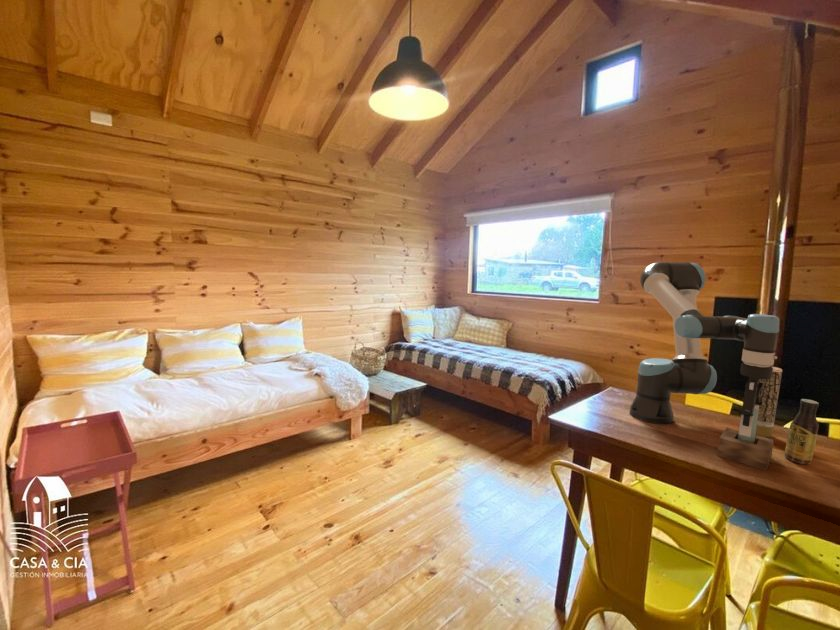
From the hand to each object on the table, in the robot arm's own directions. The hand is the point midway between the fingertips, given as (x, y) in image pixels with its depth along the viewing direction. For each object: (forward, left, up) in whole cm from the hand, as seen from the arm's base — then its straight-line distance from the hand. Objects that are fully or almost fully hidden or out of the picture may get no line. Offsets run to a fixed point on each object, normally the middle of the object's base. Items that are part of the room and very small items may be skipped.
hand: (747, 429), depth 123 cm
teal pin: (0, 0, -7) cm, 7 cm away
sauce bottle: (+12, +10, -9) cm, 18 cm away
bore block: (0, 0, -9) cm, 9 cm away
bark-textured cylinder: (+1, +27, -9) cm, 29 cm away
